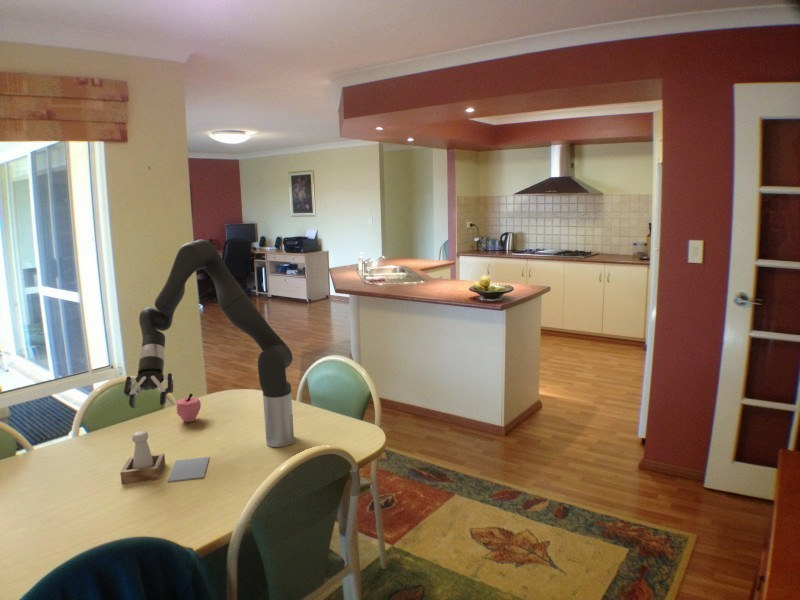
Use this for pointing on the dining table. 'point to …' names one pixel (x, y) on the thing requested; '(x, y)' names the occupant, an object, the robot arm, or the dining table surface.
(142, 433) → the salt shaker
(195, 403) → the apple
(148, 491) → the dining table surface
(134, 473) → the pocket block
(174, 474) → the rubber mat
